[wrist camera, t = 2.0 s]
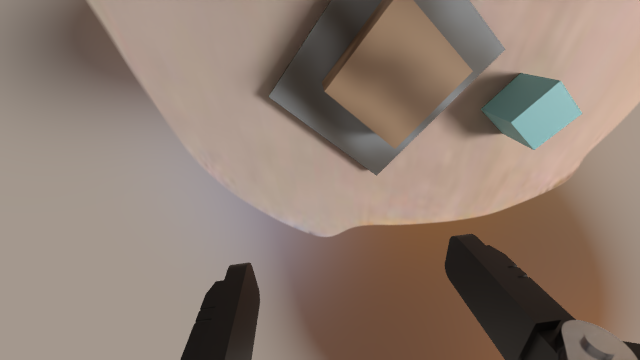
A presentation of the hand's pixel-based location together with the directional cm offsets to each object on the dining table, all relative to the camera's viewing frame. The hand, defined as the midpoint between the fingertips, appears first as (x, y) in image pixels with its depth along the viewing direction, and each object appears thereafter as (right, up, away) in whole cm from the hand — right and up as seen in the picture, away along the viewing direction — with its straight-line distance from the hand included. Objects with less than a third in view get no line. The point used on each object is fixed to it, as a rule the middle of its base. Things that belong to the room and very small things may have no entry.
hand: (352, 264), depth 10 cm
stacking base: (+5, +15, +16) cm, 22 cm away
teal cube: (+21, +12, +19) cm, 31 cm away
